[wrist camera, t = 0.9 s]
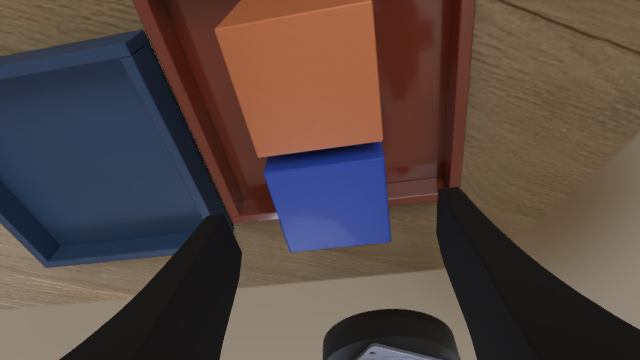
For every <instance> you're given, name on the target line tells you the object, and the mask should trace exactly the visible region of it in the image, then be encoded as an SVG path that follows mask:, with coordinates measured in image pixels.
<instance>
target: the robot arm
mask: <svg viewBox="0 0 640 360" xmlns="http://www.w3.org/2000/svg"><path fill="white" fill-rule="evenodd" d="M436 234H437V238H438V242H439V246H440V251H441V255H442V258H443V262H444V265H445V268H446V270H447V273H448V276H449V278H450V281H451V283H452V286H453V289H454V292H455V294H456V297H457V299H458V302H459V305H460V307H461V310H462V313H463V315H464V318H465V321H466V323H467V326H468V329H469V332H470V335H471V338H472V342H473V346H474V350H475V353H476V357H477V360H640V330H639V329H638V328H636V327H634V326H632V325H631V324H629V323H627V322H625V321H623V320H622V319H620V318H618V317H617V316H615V315H613V314H612V313H610V312H609V311H607V310H605V309H604V308H602V307H601V306H599V305H598V304H596V303H594V302H593V301H591V300H590V299H588V298H586V297H585V296H583V295H582V294H580V293H578V292H577V291H576V290H574V289H573V288H571V287H570V286H569V285H567V284H566V283H564V282H563V281H561V280H560V279H559V278H557V277H556V276H555V275H553V274H552V273H551V272H549V271H548V270H547V269H545V268H544V267H543V266H541V265H540V264H539V263H538V262H536V261H535V260H534V259H533V258H531V257H530V256H529V255H528V254H526V253H525V252H524V251H523V250H522V249H521V248H520V247H518V246H517V245H516V244H515V243H514V242H513V241H512V240H510V239H509V238H508V237H507V236H506V235H505V234H504V233H503V232H502V231H501V230H500V229H499V228H498V227H497V226H495V225H494V224H493V223H492V222H491V221H490V220H489V219H488V218H487V217H486V216H485V215H484V214H483V213H482V212H481V211H480V210H479V209H478V207H477V206H476V205H475V204H474V203H473V202H472V201H471V200H470V199H469V198H468V197H467V196H466V194H465V193H464V192H463V191H462V190H461V189H460V188H459V187H452V188H443V189H438V201H437V230H436ZM241 258H242V252H241V249H240V247H239V245H238V243H237V241H236V239H235V237H234V234H233V232H232V230H231V228H230V226H229V224H228V222H227V220H226V217H225V215H224V214H218V215H209V216H207V217H206V218H205V219H204V220H203V221H202V222H201V223H200V224H199V226H198V227H197V228H196V229H195V230H194V232H193V233H192V234H191V235H190V236H189V238H188V239H187V240H186V241H185V242H184V244H183V245H182V246H181V247H180V248H179V249H178V251H177V252H176V253H175V254H174V255H173V256H172V258H171V259H170V260H169V261H168V262H167V263H166V264H165V265H164V267H163V268H162V269H161V270H160V271H159V272H158V273H157V274H156V275H155V276H154V277H153V278H152V279H151V280H150V282H149V283H148V284H147V285H146V286H145V287H144V288H143V289H142V290H141V291H140V292H139V293H138V294H137V295H136V296H135V297H134V298H133V299H132V300H131V301H130V302H129V303H128V304H126V305H125V306H124V307H123V309H121V310H120V311H119V312H118V313H117V314H116V315H114V316H113V317H112V318H111V319H110V320H109V321H108V322H106V323H105V324H104V325H103V326H101V327H100V328H99V329H98V330H97V331H95V332H94V333H93V334H92V335H91V336H89V337H88V338H87V339H86V340H85V341H83V342H82V343H81V344H79V345H78V346H77V347H76V348H75V349H73V350H72V351H71V352H69V353H68V354H66V355H65V356H64V357H62V358H61V359H60V360H219V359H220V353H221V349H222V344H223V340H224V336H225V332H226V328H227V324H228V321H229V316H230V313H231V309H232V305H233V301H234V297H235V293H236V289H237V285H238V281H239V275H240V267H241ZM354 360H443V359H439V358H435V357H431V356H427V355H423V354H419V353H415V352H411V351H406V350H402V349H398V348H394V347H390V346H386V345H382V344H378V343H372V344H370V345H369V346H368V347H367V348H366V349H365V350H364V351H363V352H362V353H361V354H360V355H359V356H357V357H356V358H355V359H354Z"/></svg>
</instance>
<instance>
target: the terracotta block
mask: <svg viewBox="0 0 640 360" xmlns="http://www.w3.org/2000/svg"><path fill="white" fill-rule="evenodd" d="M215 34H216V37H217V40H218V42H219V45H220V48H221V51H222V54H223V57H224V60H225V63H226V66H227V69H228V72H229V75H230V78H231V81H232V84H233V86H234V89H235V92H236V95H237V98H238V101H239V104H240V107H241V110H242V113H243V116H244V119H245V122H246V125H247V127H248V130H249V133H250V136H251V139H252V142H253V145H254V148H255V151H256V154H257V157H258V158H261V157H268V156H276V155H283V154H291V153H298V152H306V151H313V150H320V149H328V148H335V147H343V146H350V145H358V144H365V143H373V142H380V141H383V128H382V115H381V102H380V89H379V77H378V64H377V51H376V38H375V26H374V13H373V2H372V0H241V1H240V2H239V3H238V4H237V5H236V6H235V7H234V8H233V10H232V11H231V12H230V13H229V14H228V15H227V16H226V17H225V18H224V19H223V21H222V22H221V23H220V24H219V25H218V26H217V27H216V28H215Z"/></svg>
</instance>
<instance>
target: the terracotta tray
mask: <svg viewBox="0 0 640 360" xmlns="http://www.w3.org/2000/svg"><path fill="white" fill-rule="evenodd" d="M132 1H133V3H134V5H135V8H136V10H137V12H138V14H139V16H140V19H141V21H142V23H143V25H144V27H145V30H146V32H147V34H148V36H149V38H150V41H151V43H152V45H153V47H154V50H155V52H156V54H157V56H158V58H159V61H160V63H161V65H162V67H163V69H164V72H165V74H166V76H167V78H168V80H169V83H170V85H171V87H172V89H173V91H174V94H175V96H176V98H177V100H178V102H179V105H180V107H181V109H182V111H183V113H184V116H185V118H186V120H187V122H188V124H189V127H190V129H191V131H192V133H193V136H194V138H195V140H196V142H197V144H198V147H199V149H200V151H201V153H202V155H203V158H204V160H205V162H206V164H207V166H208V169H209V171H210V173H211V175H212V177H213V180H214V182H215V184H216V186H217V188H218V191H219V193H220V195H221V197H222V199H223V202H224V204H225V206H226V208H227V210H228V213H229V215H230V216H231V219H232V222H233V223H234V224H237V223H246V222H255V221H264V220H273V219H279V218H278V215H277V212H276V209H275V206H274V204H273V201H272V198H271V195H270V192H269V189H268V186H267V183H266V180H265V177H264V169H265V165H266V161H267V157H261V158H258V157H257V154H256V151H255V148H254V145H253V142H252V139H251V136H250V133H249V130H248V127H247V125H246V122H245V119H244V116H243V113H242V110H241V107H240V104H239V101H238V98H237V95H236V92H235V89H234V86H233V84H232V81H231V78H230V75H229V72H228V69H227V66H226V63H225V60H224V57H223V54H222V51H221V48H220V45H219V42H218V40H217V37H216V34H215V28H216V27H217V26H218V25H219V24H220V23H221V22H222V21H223V19H224V18H225V17H226V16H227V15H228V14H229V13H230V12H231V11H232V10H233V8H234V7H235V6H236V5H237V4H238V3H239V2H240V1H241V0H132ZM372 2H373V13H374V26H375V38H376V51H377V64H378V77H379V89H380V102H381V115H382V128H383V141H381V143H382V148H383V153H384V158H385V169H386V181H387V194H388V207H390V206H399V205H408V204H417V203H426V202H435V201H438V189H443V188H452V187H459V188H460V186H461V174H462V162H463V150H464V138H465V126H466V114H467V102H468V90H469V78H470V66H471V54H472V42H473V30H474V18H475V5H476V0H372Z"/></svg>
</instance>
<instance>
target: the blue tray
mask: <svg viewBox="0 0 640 360" xmlns="http://www.w3.org/2000/svg"><path fill="white" fill-rule="evenodd" d="M218 214H224V215H225V217H226V220H227V222H228V224H229V226H230V228H231V230H232V232H233V230H234V227H233V225H232V223H231V221H230V219H229V216H228V214H227V212H226V210H225V208H224V206H223V203H222V201H221V199H220V197H219V195H218V192H217V190H216V188H215V186H214V184H213V182H212V179H211V177H210V175H209V173H208V171H207V168H206V166H205V164H204V162H203V160H202V157H201V155H200V153H199V151H198V149H197V147H196V144H195V142H194V140H193V138H192V136H191V133H190V131H189V129H188V127H187V125H186V123H185V120H184V118H183V116H182V114H181V112H180V109H179V107H178V105H177V103H176V101H175V98H174V96H173V94H172V92H171V90H170V88H169V85H168V83H167V81H166V79H165V77H164V74H163V72H162V70H161V68H160V66H159V64H158V61H157V59H156V57H155V55H154V53H153V50H152V48H151V46H150V44H149V42H148V39H147V37H146V35H145V33H144V31H143V30H139V31H134V32H128V33H123V34H118V35H112V36H107V37H102V38H97V39H91V40H86V41H81V42H75V43H70V44H65V45H60V46H54V47H49V48H44V49H39V50H33V51H28V52H23V53H17V54H12V55H7V56H2V57H0V223H1V224H2V225H3V226H4V227H5V228H6V229H7V230H8V231H9V232H10V233H11V234H12V235H13V236H14V237H15V238H16V239H17V240H18V241H19V242H20V243H21V244H22V245H23V246H24V247H25V248H26V249H27V250H28V251H29V252H30V253H31V254H32V255H33V256H34V257H35V258H36V259H37V260H38V261H39V262H41V264H42V265H43V266H44V267H46V268H50V267H60V266H70V265H80V264H89V263H99V262H109V261H119V260H129V259H139V258H148V257H158V256H168V255H174V254H175V253H176V252H177V251H178V249H179V248H180V247H181V246H182V245H183V244H184V242H185V241H186V240H187V239H188V238H189V236H190V235H191V234H192V233H193V232H194V230H195V229H196V228H197V227H198V226H199V224H200V223H201V222H202V221H203V220H204V219H205V218H206V217H207V216H209V215H218Z"/></svg>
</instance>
